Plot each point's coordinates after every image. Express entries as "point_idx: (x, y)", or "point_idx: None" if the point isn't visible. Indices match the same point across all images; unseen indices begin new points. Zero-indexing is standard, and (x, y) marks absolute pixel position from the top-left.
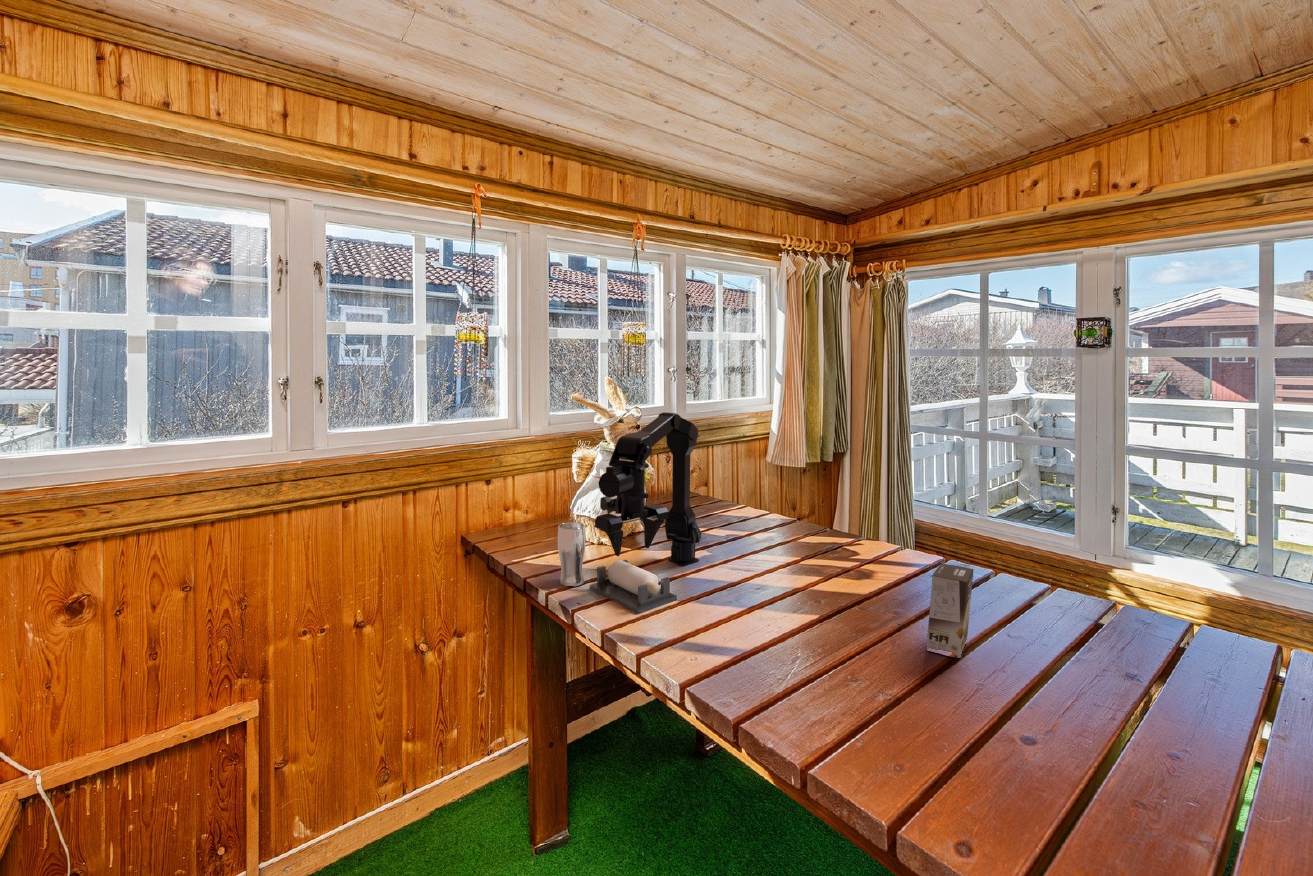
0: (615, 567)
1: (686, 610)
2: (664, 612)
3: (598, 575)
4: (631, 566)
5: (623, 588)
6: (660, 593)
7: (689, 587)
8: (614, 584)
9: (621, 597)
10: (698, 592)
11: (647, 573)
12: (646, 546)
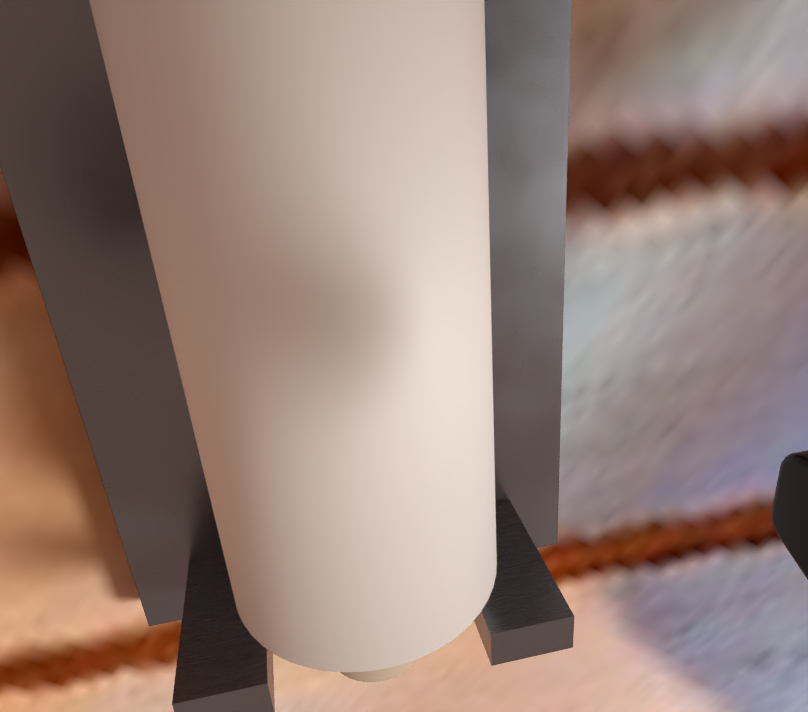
0: (161, 121)
1: (479, 662)
2: None
3: None
4: (350, 367)
5: None
6: None
7: (783, 381)
8: None
9: (127, 366)
10: (751, 482)
11: (383, 652)
12: (800, 510)
